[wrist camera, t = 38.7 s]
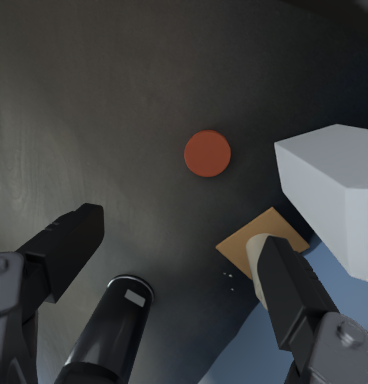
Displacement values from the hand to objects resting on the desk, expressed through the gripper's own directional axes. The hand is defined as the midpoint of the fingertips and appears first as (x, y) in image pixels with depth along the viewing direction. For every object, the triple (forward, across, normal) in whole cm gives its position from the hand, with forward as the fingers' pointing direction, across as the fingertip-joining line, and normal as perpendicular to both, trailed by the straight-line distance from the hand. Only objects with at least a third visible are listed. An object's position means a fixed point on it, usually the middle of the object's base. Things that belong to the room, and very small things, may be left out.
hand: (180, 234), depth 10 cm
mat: (+19, -12, +14) cm, 26 cm away
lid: (+18, -1, 0) cm, 18 cm away
